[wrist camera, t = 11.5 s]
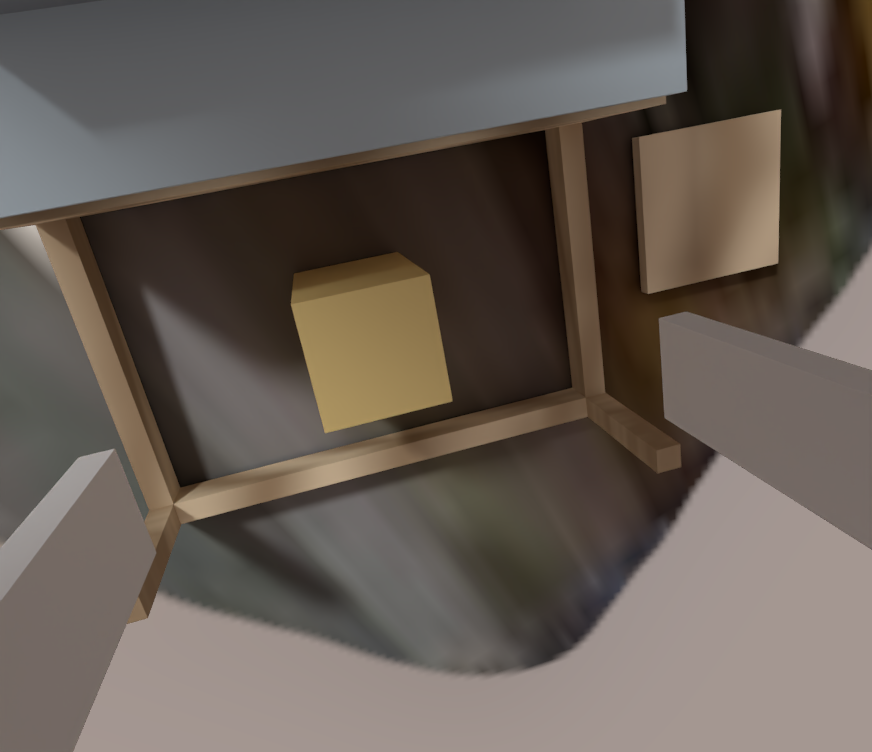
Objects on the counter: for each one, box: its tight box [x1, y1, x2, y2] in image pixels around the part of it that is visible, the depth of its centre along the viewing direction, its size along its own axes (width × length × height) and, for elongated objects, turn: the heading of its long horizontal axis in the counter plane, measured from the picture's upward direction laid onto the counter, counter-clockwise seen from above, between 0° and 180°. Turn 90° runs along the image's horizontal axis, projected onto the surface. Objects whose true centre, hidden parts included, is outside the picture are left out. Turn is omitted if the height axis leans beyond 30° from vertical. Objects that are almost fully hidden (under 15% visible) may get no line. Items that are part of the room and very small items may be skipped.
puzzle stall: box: [0, 96, 681, 624], centre depth 20 cm, size 21×28×8 cm
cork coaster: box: [632, 110, 781, 294], centre depth 28 cm, size 7×7×1 cm
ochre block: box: [291, 252, 453, 433], centre depth 23 cm, size 4×4×7 cm
